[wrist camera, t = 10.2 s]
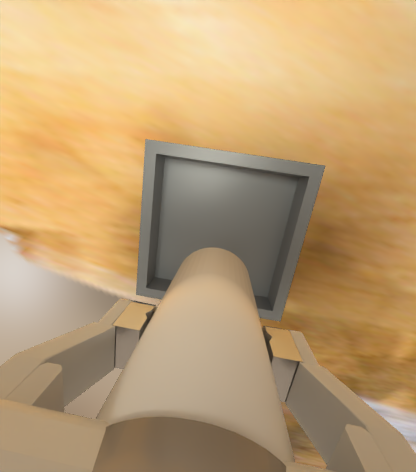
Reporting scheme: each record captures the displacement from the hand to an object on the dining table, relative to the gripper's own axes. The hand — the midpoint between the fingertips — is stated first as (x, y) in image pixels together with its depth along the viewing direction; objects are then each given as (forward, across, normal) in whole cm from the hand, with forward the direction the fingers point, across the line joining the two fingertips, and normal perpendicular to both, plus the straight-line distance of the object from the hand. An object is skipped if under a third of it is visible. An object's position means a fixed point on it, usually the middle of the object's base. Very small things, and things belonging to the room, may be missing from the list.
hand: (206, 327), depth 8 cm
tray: (+18, 0, 0) cm, 18 cm away
